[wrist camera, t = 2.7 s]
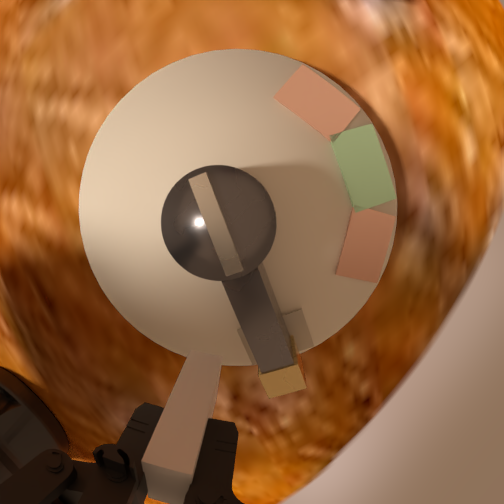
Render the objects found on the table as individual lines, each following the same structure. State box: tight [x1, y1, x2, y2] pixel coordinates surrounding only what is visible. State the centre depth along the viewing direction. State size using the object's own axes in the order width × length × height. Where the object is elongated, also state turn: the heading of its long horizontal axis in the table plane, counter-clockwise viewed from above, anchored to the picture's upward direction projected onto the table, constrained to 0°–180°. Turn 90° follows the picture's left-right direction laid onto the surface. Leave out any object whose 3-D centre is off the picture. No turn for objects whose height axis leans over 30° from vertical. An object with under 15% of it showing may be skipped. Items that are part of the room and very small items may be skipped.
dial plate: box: [79, 49, 397, 366], centre depth 17 cm, size 20×20×2 cm
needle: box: [161, 165, 307, 399], centre depth 15 cm, size 12×5×4 cm, turn 20°
